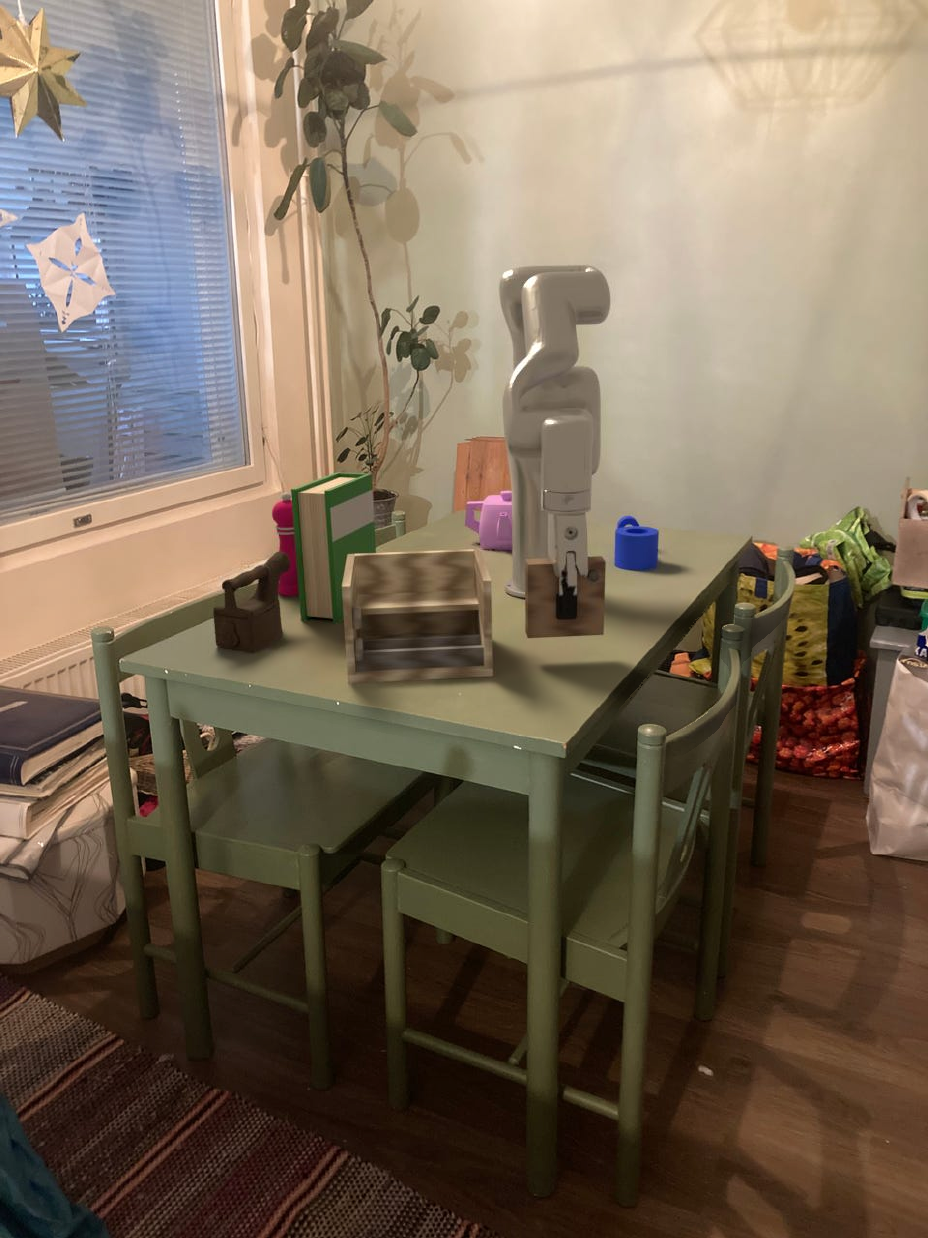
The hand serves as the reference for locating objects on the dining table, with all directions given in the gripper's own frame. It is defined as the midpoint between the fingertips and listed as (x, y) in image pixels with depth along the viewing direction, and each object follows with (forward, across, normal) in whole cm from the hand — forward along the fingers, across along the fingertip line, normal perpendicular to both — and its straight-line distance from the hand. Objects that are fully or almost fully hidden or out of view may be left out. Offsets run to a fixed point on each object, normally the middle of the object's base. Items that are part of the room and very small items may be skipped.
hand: (564, 613), depth 154 cm
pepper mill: (+9, +44, +47) cm, 65 cm away
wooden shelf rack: (+8, +3, +23) cm, 24 cm away
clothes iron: (+8, +16, +50) cm, 53 cm away
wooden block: (+3, 0, 0) cm, 3 cm away
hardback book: (+9, +32, +37) cm, 50 cm away
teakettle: (+10, +77, 0) cm, 78 cm away
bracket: (+10, +59, -25) cm, 65 cm away
